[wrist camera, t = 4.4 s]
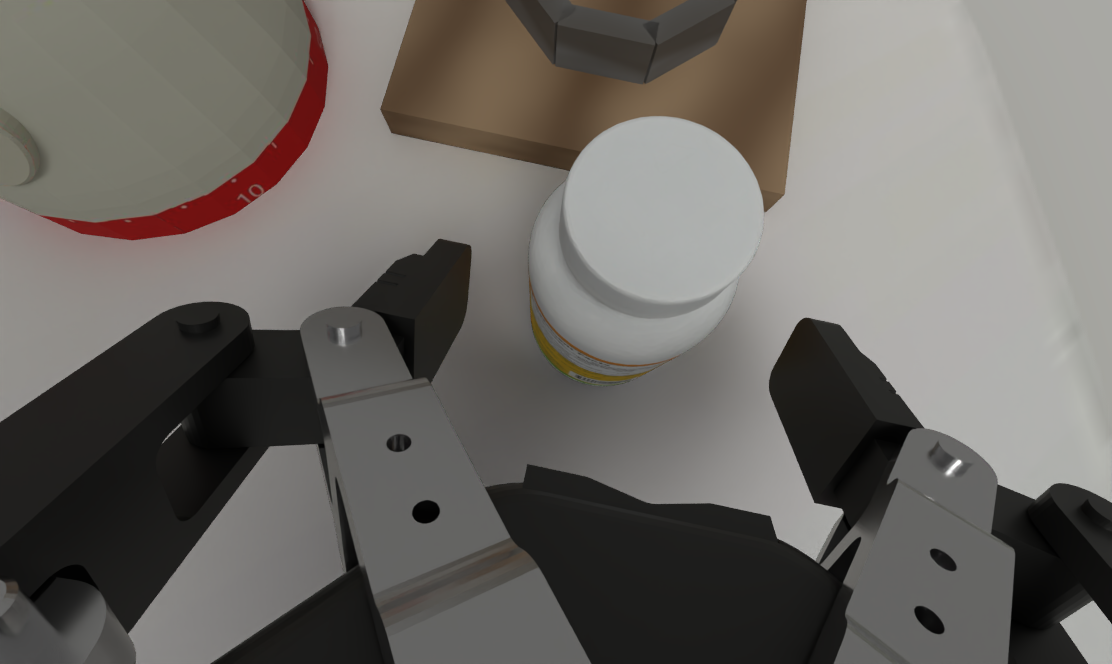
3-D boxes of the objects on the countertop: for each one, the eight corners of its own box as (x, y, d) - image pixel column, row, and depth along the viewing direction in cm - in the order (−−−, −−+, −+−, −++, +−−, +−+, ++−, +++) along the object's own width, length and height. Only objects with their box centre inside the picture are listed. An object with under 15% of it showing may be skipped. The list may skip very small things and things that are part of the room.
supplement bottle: (609, 229, 20) (679, 36, 10) (695, 331, 19) (858, 229, 9) (502, 306, 19) (468, 176, 9) (588, 416, 18) (648, 400, 8)
